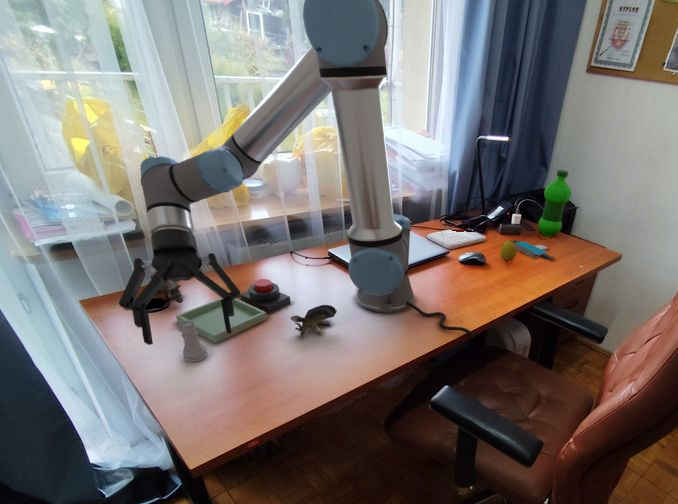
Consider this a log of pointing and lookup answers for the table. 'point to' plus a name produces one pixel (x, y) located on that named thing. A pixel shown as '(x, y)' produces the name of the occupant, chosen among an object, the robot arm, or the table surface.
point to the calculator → (455, 238)
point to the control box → (265, 299)
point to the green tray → (222, 319)
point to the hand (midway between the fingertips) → (190, 337)
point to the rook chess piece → (192, 342)
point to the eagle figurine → (314, 318)
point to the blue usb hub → (532, 250)
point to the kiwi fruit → (508, 251)
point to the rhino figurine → (170, 290)
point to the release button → (263, 285)
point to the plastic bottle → (554, 204)
